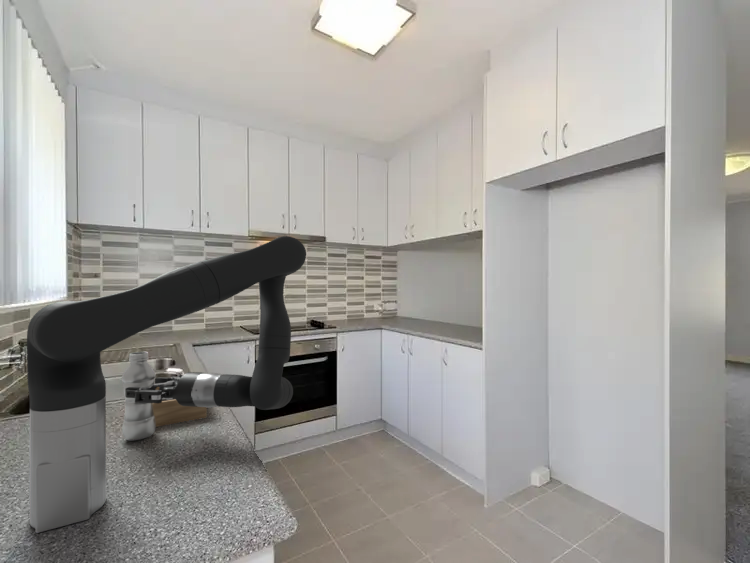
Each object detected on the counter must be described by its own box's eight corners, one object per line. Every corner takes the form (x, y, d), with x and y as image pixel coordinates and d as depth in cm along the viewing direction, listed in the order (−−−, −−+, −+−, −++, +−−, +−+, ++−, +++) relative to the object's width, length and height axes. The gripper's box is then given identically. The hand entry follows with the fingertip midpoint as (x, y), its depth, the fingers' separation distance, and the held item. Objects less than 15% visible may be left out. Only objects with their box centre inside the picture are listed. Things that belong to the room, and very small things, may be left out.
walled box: (206, 417, 97) (206, 395, 97) (126, 432, 88) (125, 407, 88) (200, 400, 113) (200, 380, 113) (131, 410, 103) (131, 389, 103)
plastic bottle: (159, 437, 85) (159, 352, 85) (125, 447, 80) (125, 356, 80) (151, 430, 89) (151, 349, 89) (118, 439, 84) (118, 353, 84)
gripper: (222, 366, 89) (164, 364, 91) (182, 381, 75) (115, 378, 77) (222, 396, 89) (164, 393, 91) (182, 417, 75) (115, 413, 77)
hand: (141, 386), depth 84 cm, fingers open, 8 cm apart
